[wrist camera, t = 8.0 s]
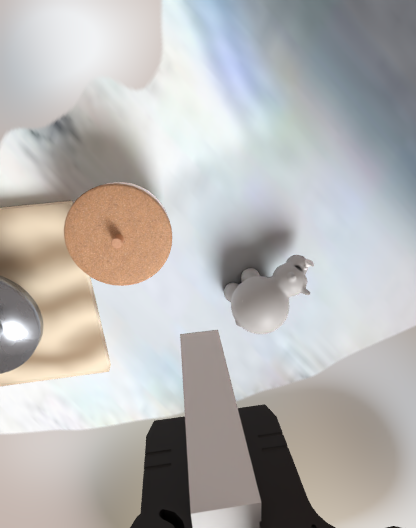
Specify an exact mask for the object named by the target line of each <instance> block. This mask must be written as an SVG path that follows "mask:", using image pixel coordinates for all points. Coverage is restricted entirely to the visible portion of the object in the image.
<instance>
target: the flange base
mask: <svg viewBox="0 0 416 528" xmlns="http://www.w3.org/2000/svg"><path fill="white" fill-rule="evenodd" d="M72 205H73V201H63V202H53V203H42V204H32V205H22V206H11V207H1V208H0V276H3V277H5V278H7V279H10V280H11V281H13V282H15V283H17V284H18V285H19V286H21V287H22V288H23V289H24V290H26V291H27V292H28V293H29V294H30V295H31V297H32V298H33V299H34V300H35V302H36V303H37V305H38V307H39V309H40V311H41V314H42V318H43V335H42V338H41V341H40V343H39V345H38V346H37V348H36V349H35V351H34V353H33V354H32V355H31V357H30V358H29V359H28V360H27V361H26V362H25V363H24V364H22V365H21V366H19V367H18V368H16V369H14V370H11V371H9V372H5V373H2V374H0V386H6V385H14V384H21V383H28V382H36V381H43V380H51V379H58V378H65V377H73V376H80V375H87V374H95V373H102V372H109V370H110V366H111V364H110V359H109V355H108V351H107V346H106V342H105V338H104V334H103V329H102V325H101V321H100V316H99V312H98V308H97V304H96V299H95V295H94V291H93V287H92V282H91V278H90V276H89V275H87V274H86V273H84V272H83V271H82V270H81V269H80V268H79V267H78V266H77V265H76V263H75V262H74V261H73V259H72V258H71V256H70V254H69V252H68V250H67V247H66V244H65V239H64V225H65V220H66V216H67V213H68V212H69V210H70V208H71V206H72Z"/></svg>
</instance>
